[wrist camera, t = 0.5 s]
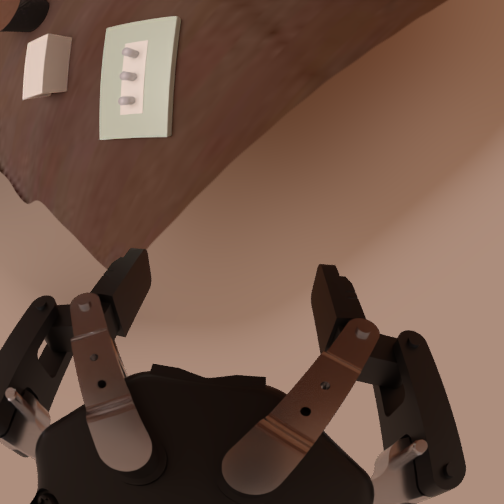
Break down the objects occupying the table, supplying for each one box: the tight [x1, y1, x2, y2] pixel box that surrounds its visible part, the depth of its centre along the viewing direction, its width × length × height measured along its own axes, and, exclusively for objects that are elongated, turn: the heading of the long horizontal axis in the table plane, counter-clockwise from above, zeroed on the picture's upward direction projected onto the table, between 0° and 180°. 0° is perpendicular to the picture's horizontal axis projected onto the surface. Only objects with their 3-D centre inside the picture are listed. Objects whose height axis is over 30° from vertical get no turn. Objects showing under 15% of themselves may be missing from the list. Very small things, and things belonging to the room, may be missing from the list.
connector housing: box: [23, 34, 72, 100], centre depth 25 cm, size 10×5×6 cm, turn 175°
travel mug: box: [0, 0, 49, 32], centre depth 12 cm, size 8×8×20 cm
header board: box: [100, 16, 181, 140], centre depth 28 cm, size 18×11×5 cm, turn 175°
